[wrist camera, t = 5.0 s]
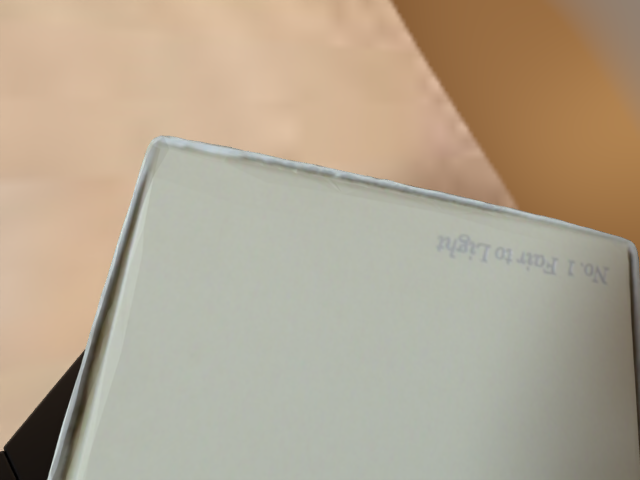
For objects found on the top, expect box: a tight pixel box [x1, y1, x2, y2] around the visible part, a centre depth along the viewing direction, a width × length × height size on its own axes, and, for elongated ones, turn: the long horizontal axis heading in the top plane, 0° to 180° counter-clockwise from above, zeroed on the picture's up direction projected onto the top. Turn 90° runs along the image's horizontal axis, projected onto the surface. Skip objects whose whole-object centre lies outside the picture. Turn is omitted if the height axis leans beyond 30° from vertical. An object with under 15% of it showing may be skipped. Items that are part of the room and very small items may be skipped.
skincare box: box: [47, 136, 640, 480], centre depth 10 cm, size 6×4×12 cm
